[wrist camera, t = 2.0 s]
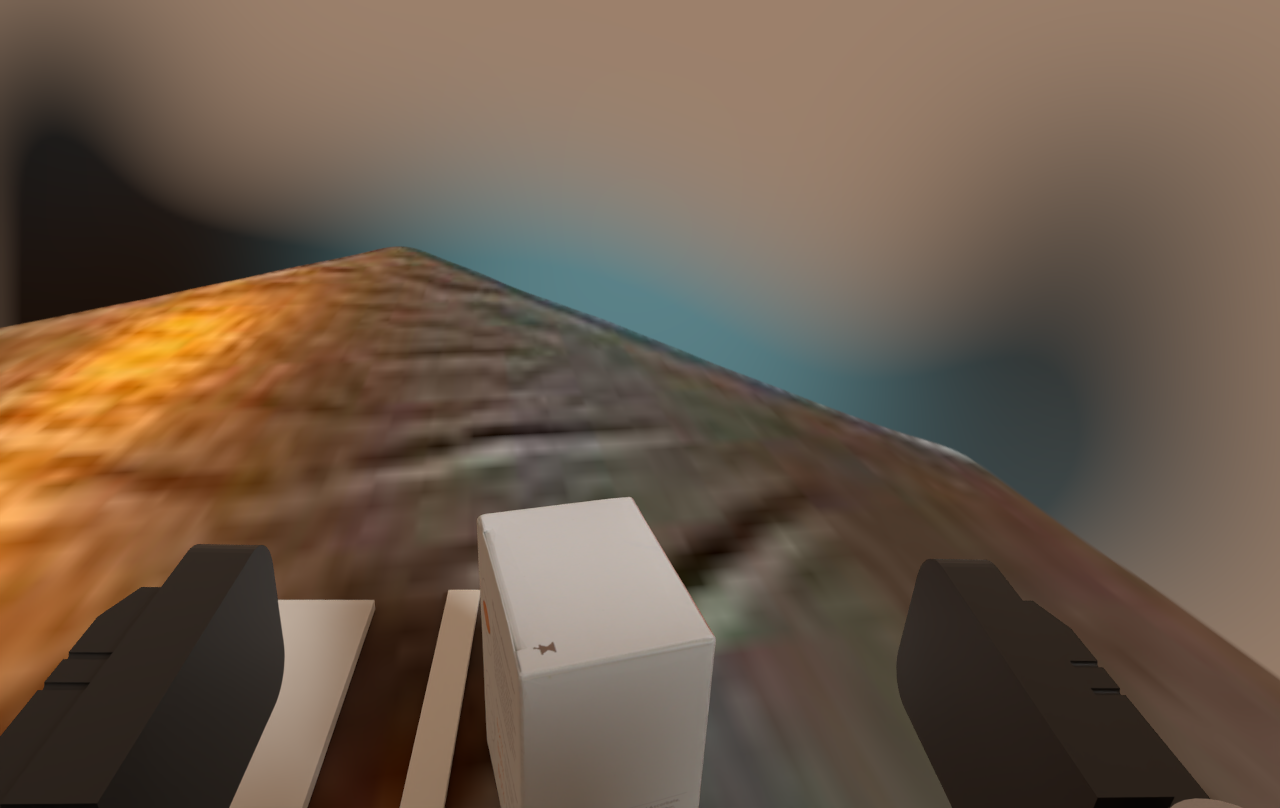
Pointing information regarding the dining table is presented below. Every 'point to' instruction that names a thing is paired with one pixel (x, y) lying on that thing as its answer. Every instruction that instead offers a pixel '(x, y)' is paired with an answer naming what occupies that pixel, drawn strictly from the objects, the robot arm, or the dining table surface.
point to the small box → (590, 660)
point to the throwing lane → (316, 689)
